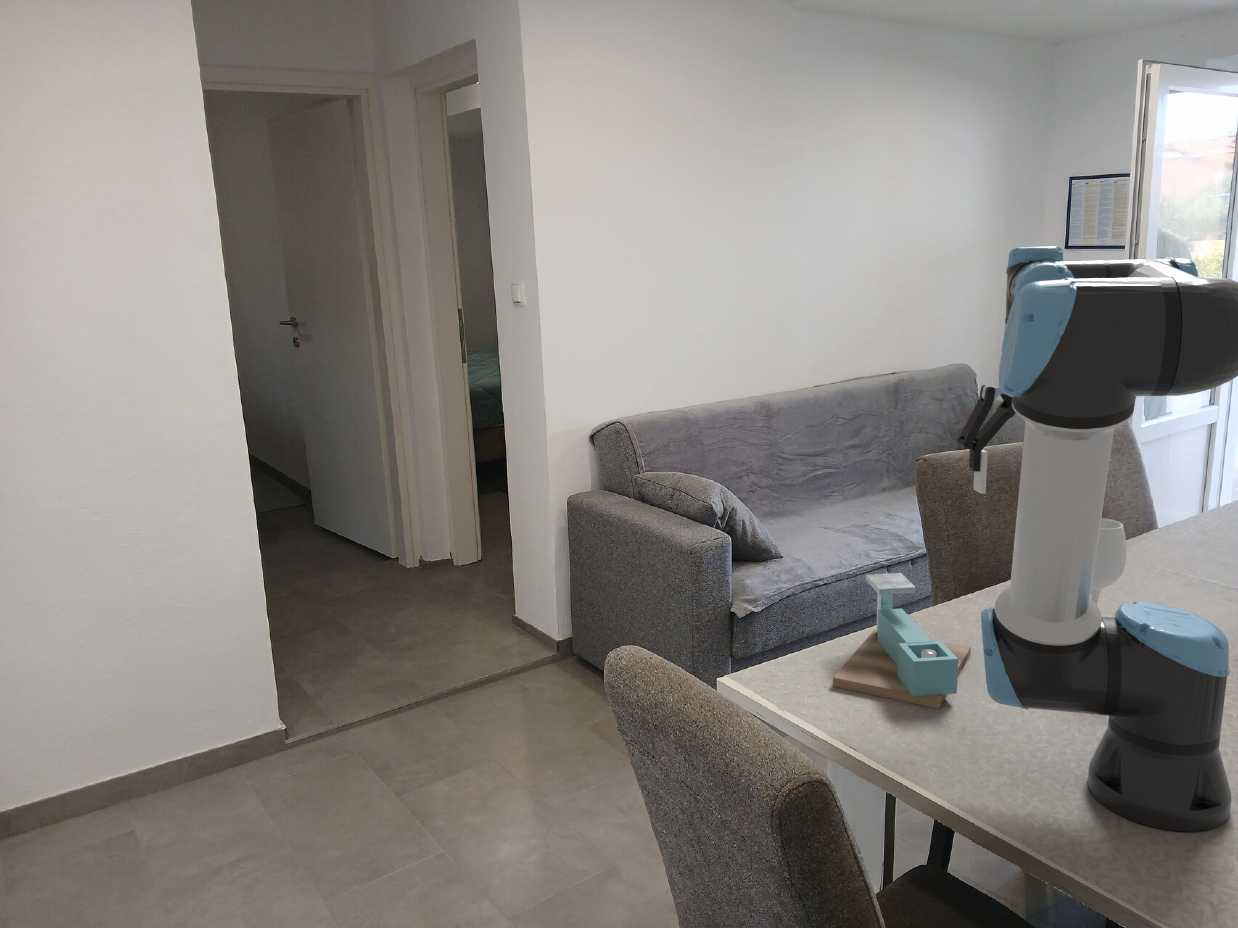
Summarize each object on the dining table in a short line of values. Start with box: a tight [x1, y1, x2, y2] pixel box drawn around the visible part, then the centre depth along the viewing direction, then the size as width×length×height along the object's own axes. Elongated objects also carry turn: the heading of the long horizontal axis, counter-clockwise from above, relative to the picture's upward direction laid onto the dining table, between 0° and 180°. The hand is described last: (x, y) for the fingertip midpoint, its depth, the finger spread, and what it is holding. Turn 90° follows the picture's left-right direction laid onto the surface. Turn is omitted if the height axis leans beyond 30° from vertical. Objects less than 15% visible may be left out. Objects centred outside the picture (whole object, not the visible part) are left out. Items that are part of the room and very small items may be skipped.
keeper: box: [865, 572, 917, 633], centre depth 160 cm, size 7×6×12 cm
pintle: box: [921, 649, 937, 658], centre depth 143 cm, size 2×2×7 cm
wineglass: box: [1090, 517, 1127, 606], centre depth 157 cm, size 9×9×21 cm
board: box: [832, 629, 972, 710], centre depth 153 cm, size 21×16×2 cm
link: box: [878, 608, 959, 696], centre depth 150 cm, size 20×7×6 cm, turn 3°
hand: (1022, 489), depth 148 cm, fingers open, 13 cm apart
